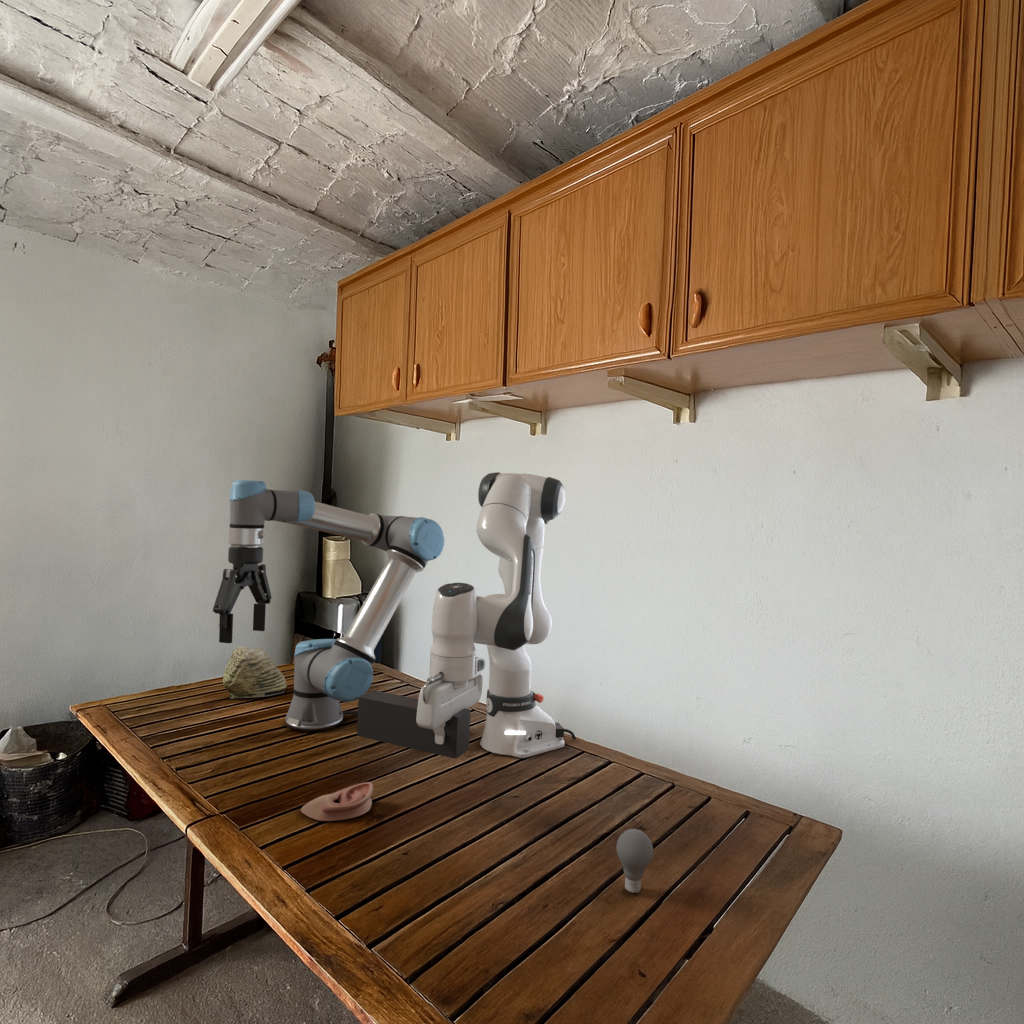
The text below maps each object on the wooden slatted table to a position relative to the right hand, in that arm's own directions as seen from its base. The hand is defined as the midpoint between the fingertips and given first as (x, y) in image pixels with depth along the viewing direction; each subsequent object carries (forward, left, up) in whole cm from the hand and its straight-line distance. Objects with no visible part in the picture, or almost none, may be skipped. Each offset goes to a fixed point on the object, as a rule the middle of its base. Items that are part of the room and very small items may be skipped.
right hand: (449, 737), depth 124 cm
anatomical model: (+18, -14, -17) cm, 29 cm away
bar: (+5, -7, -3) cm, 9 cm away
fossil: (+26, -96, -17) cm, 101 cm away
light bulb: (-21, +32, -17) cm, 42 cm away
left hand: (+34, -45, +12) cm, 58 cm away
